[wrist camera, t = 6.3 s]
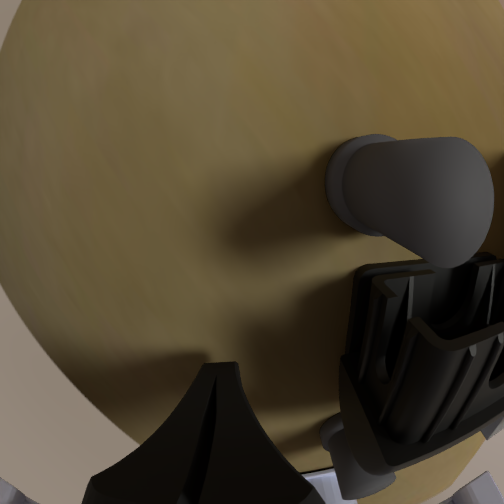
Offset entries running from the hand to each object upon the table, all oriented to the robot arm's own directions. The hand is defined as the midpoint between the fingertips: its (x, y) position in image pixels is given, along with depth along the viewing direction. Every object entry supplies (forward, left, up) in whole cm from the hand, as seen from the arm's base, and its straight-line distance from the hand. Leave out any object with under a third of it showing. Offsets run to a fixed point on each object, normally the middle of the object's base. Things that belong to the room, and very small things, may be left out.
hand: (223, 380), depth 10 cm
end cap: (0, -10, -2) cm, 10 cm away
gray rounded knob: (+7, -6, -1) cm, 10 cm away
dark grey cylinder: (-7, -6, -1) cm, 10 cm away
